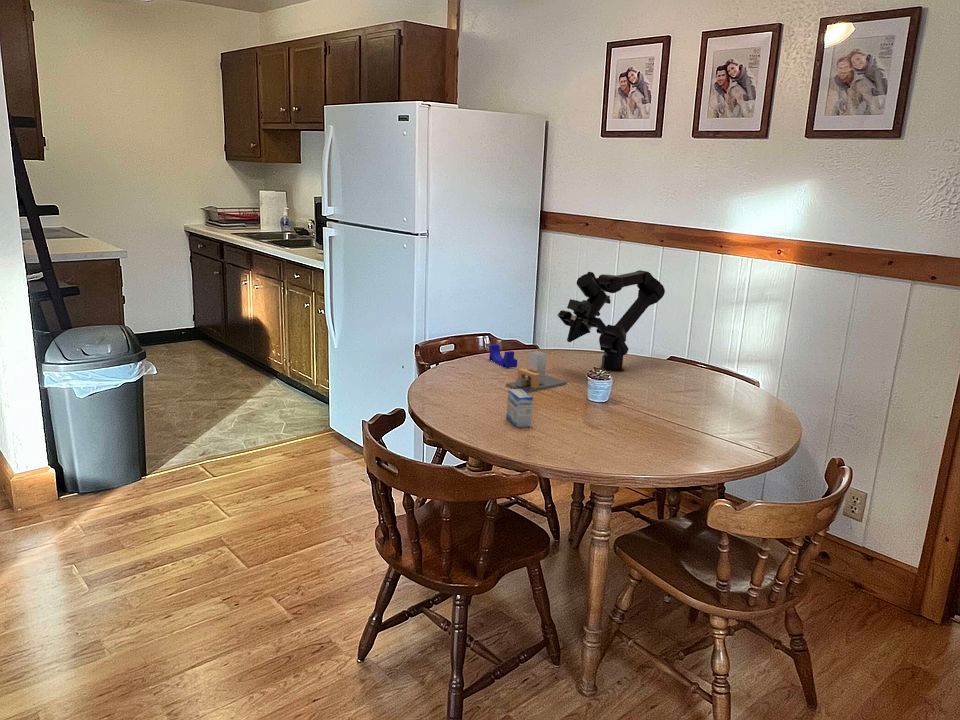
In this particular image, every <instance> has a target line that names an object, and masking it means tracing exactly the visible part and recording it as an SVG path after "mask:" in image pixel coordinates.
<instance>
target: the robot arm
mask: <svg viewBox="0 0 960 720" xmlns="http://www.w3.org/2000/svg"><path fill="white" fill-rule="evenodd" d="M576 285H577V287H578V289H579V290H580V292H581V293H582V294H583V296H585V298H587V299H582V301H580V300H576V299H571V298H570V299H569V300H568V303H567V307H566V308H567V309H568V310H564V309H563V310H560V311H559V312H558V313H557V317H558V318H559V319H560V320H561V322H562V323H563V324H564V325H566V326H567V327H569V330H568V336H567V338H566V341H567V342H568V343H571V342H573V341H575V340H577V339H579V338H581V337H582V336H585V335H587V334H590V333H591V329H593V328H595V329H596V333H597V334H600V336H599V339H598V343H599V347H600V351H603V355H602V356H601V366H600V367H602V369H603V370H605V371H606V370H607V372H608V371H609V372H623V371H624V368H623V364H624V363H623V362H624V356H625V355H627V354H628V352H629V347H628V346H627V344H626V342H627V334H628V332H629V331H630V329H632V328H633V326H634V325H635V323H637V321H639V319H640V317H641V316H642V315H643V314H644V312H645V311H646V310H647V309H648V307H650V306H652V305H655V304H656V303H658V302H659V301H660V300H661V299H662V298H663V297H664V295H665V293H666V290H665V287H664V285H663V284H662V283H661V282H660V281H659V280H658V279H656V278H655V277H654V276H653V275H652V274H651V273H650V271H646V270H641V269H640V270H636V271H634V272H633V271H632V272H627V273H624V274H623V273H622V274H617V275H615V274H604V273H603V274H599V276H598V277H596V275H595V273H594V272H592V271H588V272H587V273H585V274H583V275H581V276H579V277H578V278H577V281H576ZM633 285H634V286H635V285H636V287H637V288H638V291H637V299H635V300H634V302H633V303H632V304H631V306H629V308H628V309H627V310H626V311H625V312H624V314H623V315H622V317H620V319H619V320H618V321H617V322H616V323H615V324H614V325H613V324H607V325H606V324H605V323H604V321H603V320H602V319H601V318H600V316H601V313H600V311H601V309H602V308H603V307H604V306H605V304H608V305H610V304H611V297H610V295H607V294H606V293H609V294H615V293H617V292H621V290H622V289H624V288H626V287H630V286H633ZM569 309H570V310H571V311H573V312H571V311H569Z"/></svg>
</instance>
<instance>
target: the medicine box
mask: <svg viewBox="0 0 960 720" xmlns="http://www.w3.org/2000/svg"><path fill="white" fill-rule="evenodd" d="M506 402H507V403H506V416H505V417H506V419H507V420H508V421H509V422H510V423H511V422H512V423H511V424H512V425H514V426H515V427H516V428H529V427H531V426H532V421H533V420H532V419H533V405H534V404H533V403H534V397H533V396H531V395H530V393H526V392H525V391H523V390H522V389H512V388H511V389H508V390H507V401H506Z"/></svg>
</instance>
